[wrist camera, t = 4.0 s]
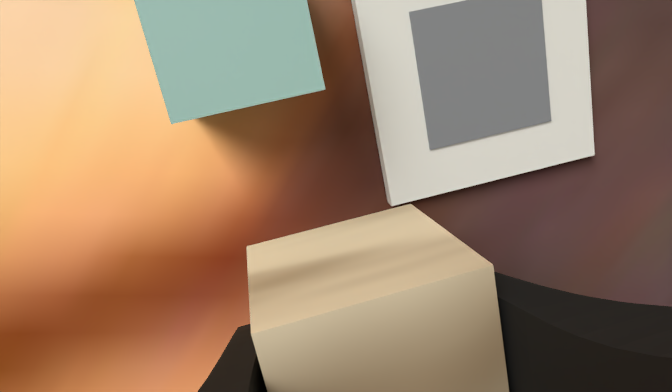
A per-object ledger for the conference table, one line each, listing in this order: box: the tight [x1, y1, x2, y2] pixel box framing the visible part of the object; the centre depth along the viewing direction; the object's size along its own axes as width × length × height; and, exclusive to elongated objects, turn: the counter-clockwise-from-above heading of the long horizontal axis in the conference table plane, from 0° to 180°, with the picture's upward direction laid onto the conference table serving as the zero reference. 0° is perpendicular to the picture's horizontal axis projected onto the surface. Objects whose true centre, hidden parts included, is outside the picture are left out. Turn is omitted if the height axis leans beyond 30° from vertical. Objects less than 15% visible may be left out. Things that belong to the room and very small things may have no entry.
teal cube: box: [134, 0, 325, 124], centre depth 16 cm, size 4×4×4 cm
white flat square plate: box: [351, 0, 595, 206], centre depth 19 cm, size 9×9×1 cm
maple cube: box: [247, 204, 509, 392], centre depth 11 cm, size 4×4×4 cm
